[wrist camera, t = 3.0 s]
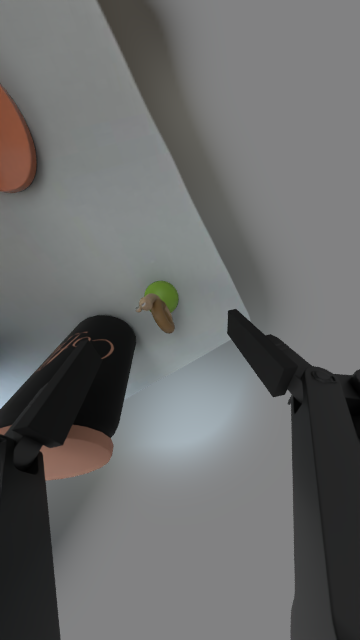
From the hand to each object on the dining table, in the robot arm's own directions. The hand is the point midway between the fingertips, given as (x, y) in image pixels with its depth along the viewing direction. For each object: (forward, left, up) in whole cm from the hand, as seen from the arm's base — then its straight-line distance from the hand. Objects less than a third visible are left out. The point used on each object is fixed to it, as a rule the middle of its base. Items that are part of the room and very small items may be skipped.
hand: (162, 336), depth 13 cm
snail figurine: (0, 0, -13) cm, 13 cm away
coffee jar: (+7, -12, -13) cm, 19 cm away
